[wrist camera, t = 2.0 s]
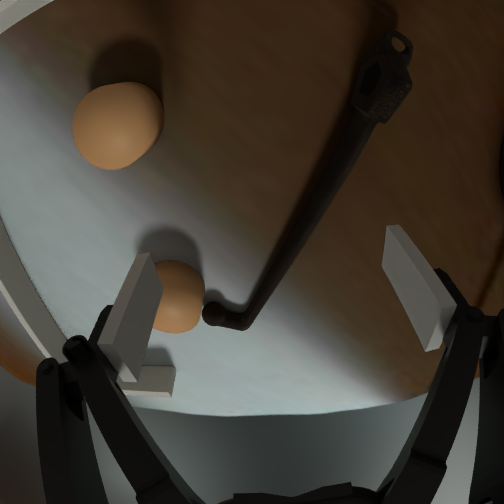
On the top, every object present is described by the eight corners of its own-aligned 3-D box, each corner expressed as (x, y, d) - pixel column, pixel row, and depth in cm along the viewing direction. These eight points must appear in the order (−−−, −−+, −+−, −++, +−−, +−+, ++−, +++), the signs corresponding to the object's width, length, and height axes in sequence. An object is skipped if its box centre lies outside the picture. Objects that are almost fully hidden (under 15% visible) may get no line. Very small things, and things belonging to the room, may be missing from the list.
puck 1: (157, 72, 19) (141, 73, 16) (171, 147, 22) (158, 160, 19) (87, 94, 19) (64, 100, 16) (104, 162, 23) (84, 177, 20)
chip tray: (61, -16, 13) (34, -23, 10) (176, 371, 37) (171, 397, 34) (-45, 61, 14) (-71, 67, 11) (80, 367, 38) (71, 388, 35)
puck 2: (197, 256, 28) (191, 281, 25) (210, 306, 31) (206, 331, 28) (137, 262, 28) (125, 286, 25) (155, 309, 31) (147, 333, 28)
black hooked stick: (201, 297, 33) (345, 8, 16) (246, 309, 34) (402, 44, 17) (196, 336, 29) (372, 1, 12) (246, 348, 30) (438, 49, 13)
